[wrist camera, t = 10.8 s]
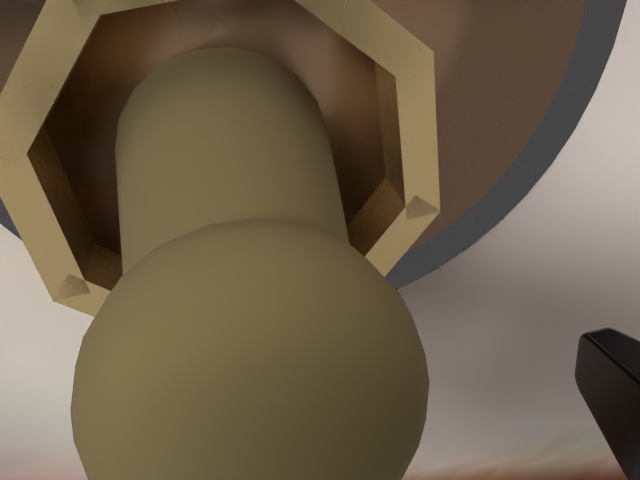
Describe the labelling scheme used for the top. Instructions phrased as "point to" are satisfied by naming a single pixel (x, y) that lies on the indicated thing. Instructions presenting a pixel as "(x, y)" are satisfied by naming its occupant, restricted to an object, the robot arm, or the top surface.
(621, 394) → the robot arm
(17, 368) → the top surface
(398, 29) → the carrier plate
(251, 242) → the olive pestle
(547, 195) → the top surface
